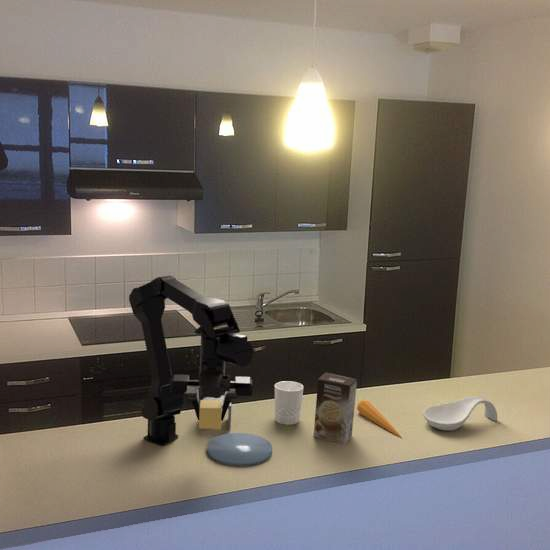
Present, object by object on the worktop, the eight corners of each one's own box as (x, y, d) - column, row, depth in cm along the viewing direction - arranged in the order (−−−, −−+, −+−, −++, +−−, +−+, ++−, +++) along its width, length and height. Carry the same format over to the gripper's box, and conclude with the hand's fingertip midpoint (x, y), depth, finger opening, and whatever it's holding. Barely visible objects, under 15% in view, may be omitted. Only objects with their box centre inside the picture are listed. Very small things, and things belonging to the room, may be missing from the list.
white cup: (298, 427, 183) (300, 392, 182) (270, 423, 185) (272, 389, 183) (303, 416, 191) (305, 382, 189) (276, 413, 192) (277, 379, 191)
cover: (202, 418, 186) (203, 395, 185) (229, 419, 187) (230, 395, 185) (202, 429, 179) (203, 405, 178) (230, 430, 180) (231, 405, 178)
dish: (194, 454, 165) (194, 449, 164) (230, 432, 178) (231, 427, 178) (249, 472, 157) (249, 467, 157) (283, 448, 170) (284, 443, 170)
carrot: (356, 414, 197) (353, 402, 195) (369, 407, 198) (366, 395, 196) (397, 449, 180) (394, 436, 178) (411, 441, 181) (408, 428, 179)
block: (199, 419, 160) (200, 399, 159) (221, 420, 161) (221, 400, 160) (198, 428, 155) (199, 407, 154) (220, 429, 156) (221, 408, 155)
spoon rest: (441, 438, 182) (443, 413, 180) (413, 422, 192) (415, 398, 191) (506, 426, 192) (509, 402, 191) (476, 411, 203) (479, 388, 201)
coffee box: (312, 436, 178) (316, 378, 175) (321, 428, 184) (324, 371, 181) (345, 444, 174) (349, 385, 171) (353, 435, 180) (357, 378, 177)
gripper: (168, 365, 147) (166, 433, 149) (254, 368, 148) (250, 435, 151) (173, 350, 158) (171, 413, 160) (253, 353, 159) (250, 416, 161)
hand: (210, 420), depth 158 cm, fingers closed on block, 5 cm apart
